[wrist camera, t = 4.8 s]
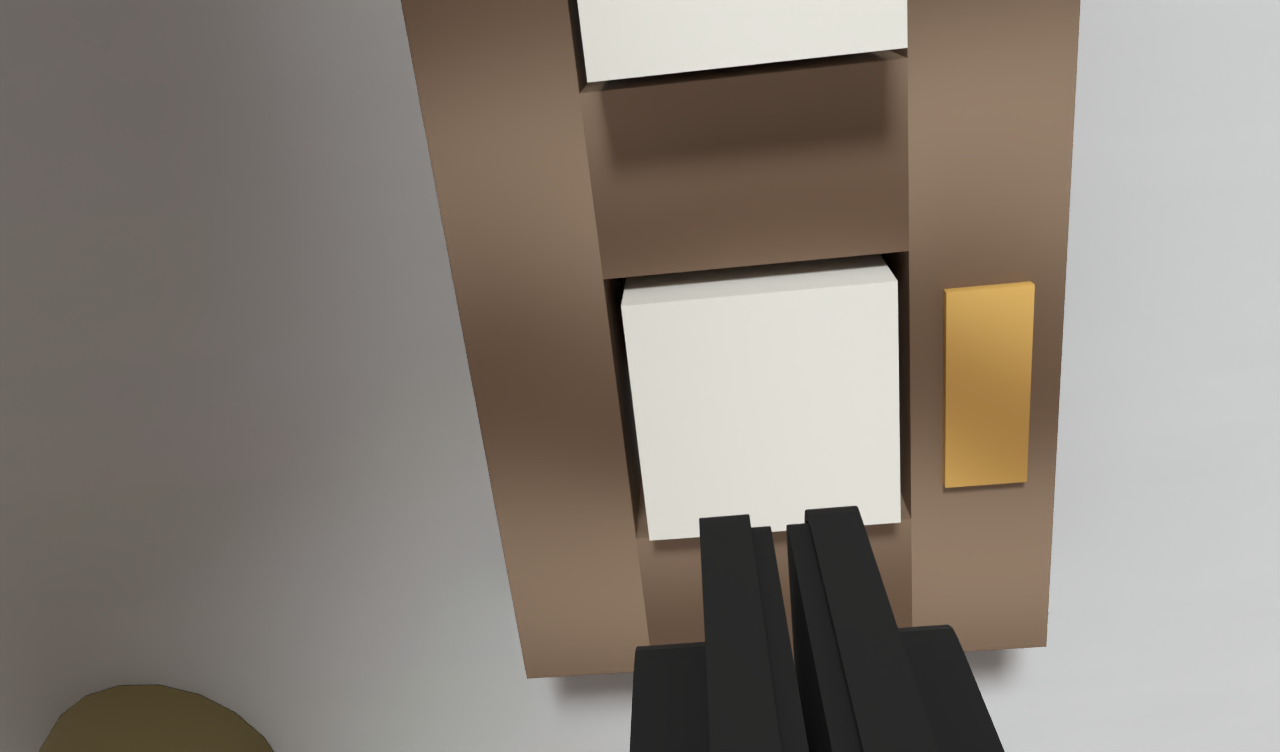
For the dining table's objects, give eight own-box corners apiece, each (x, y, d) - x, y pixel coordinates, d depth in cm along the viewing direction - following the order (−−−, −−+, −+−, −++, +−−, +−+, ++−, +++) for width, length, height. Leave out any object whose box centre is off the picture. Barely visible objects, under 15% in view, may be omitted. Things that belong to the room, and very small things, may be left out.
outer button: (628, 263, 19) (621, 306, 16) (870, 240, 18) (897, 281, 16) (653, 474, 20) (649, 540, 18) (875, 457, 20) (900, 522, 18)
